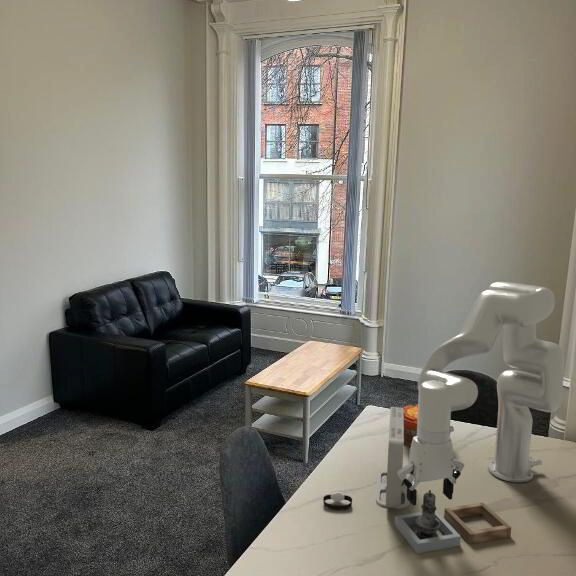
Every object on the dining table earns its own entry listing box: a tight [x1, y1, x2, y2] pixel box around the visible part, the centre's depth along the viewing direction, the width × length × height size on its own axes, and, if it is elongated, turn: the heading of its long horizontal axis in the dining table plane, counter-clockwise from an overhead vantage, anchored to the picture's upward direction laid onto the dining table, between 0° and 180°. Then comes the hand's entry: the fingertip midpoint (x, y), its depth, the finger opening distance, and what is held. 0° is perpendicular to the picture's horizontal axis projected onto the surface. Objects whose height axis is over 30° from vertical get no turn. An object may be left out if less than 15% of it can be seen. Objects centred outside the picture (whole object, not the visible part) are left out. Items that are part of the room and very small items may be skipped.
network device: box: [375, 406, 410, 510], centre depth 153 cm, size 26×9×20 cm, turn 168°
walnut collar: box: [443, 502, 512, 545], centre depth 138 cm, size 11×11×2 cm
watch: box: [322, 491, 353, 511], centre depth 146 cm, size 8×5×4 cm, turn 87°
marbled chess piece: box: [415, 489, 440, 540], centre depth 133 cm, size 6×6×12 cm
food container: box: [402, 404, 418, 449], centre depth 184 cm, size 16×16×11 cm
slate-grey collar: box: [394, 510, 462, 554], centre depth 134 cm, size 11×11×2 cm
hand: (429, 499), depth 133 cm, fingers open, 9 cm apart
